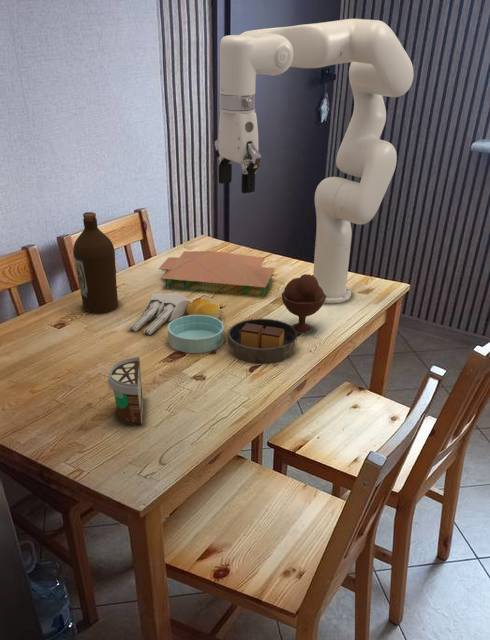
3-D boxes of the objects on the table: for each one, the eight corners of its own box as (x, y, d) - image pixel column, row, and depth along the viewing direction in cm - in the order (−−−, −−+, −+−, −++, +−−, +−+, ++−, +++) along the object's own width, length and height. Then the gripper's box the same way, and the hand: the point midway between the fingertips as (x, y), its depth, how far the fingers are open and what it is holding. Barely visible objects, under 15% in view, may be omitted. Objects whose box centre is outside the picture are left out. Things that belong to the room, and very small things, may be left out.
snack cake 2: (266, 344, 164) (266, 326, 161) (283, 346, 163) (284, 328, 160) (261, 351, 161) (261, 332, 158) (278, 354, 160) (279, 335, 157)
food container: (114, 398, 144) (109, 356, 138) (143, 397, 144) (139, 355, 138) (110, 430, 134) (104, 387, 128) (141, 428, 134) (137, 385, 129)
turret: (124, 336, 173) (121, 321, 169) (165, 298, 185) (162, 283, 182) (157, 345, 169) (154, 329, 166) (196, 305, 181) (194, 289, 178)
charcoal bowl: (241, 330, 171) (241, 314, 169) (304, 339, 167) (305, 324, 164) (218, 358, 159) (217, 342, 156) (285, 370, 154) (286, 354, 152)
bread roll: (203, 325, 173) (203, 311, 171) (182, 314, 179) (182, 300, 176) (228, 317, 178) (227, 303, 175) (207, 306, 183) (206, 292, 181)
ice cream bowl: (328, 325, 174) (333, 269, 165) (313, 342, 165) (318, 284, 157) (290, 317, 177) (292, 262, 168) (274, 334, 169) (276, 277, 160)
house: (176, 260, 212) (174, 235, 207) (279, 269, 206) (280, 243, 201) (153, 288, 193) (151, 260, 189) (265, 298, 188) (266, 270, 183)
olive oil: (115, 296, 189) (104, 205, 174) (124, 310, 181) (115, 217, 166) (77, 302, 185) (63, 210, 171) (85, 317, 177) (72, 222, 163)
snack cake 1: (246, 340, 165) (246, 322, 162) (263, 343, 164) (263, 325, 161) (240, 347, 162) (240, 329, 159) (258, 350, 161) (258, 332, 158)
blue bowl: (182, 326, 173) (181, 311, 170) (232, 334, 169) (232, 319, 167) (159, 349, 162) (158, 334, 160) (212, 359, 158) (211, 343, 156)
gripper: (275, 108, 138) (271, 194, 148) (231, 97, 150) (230, 177, 159) (244, 110, 134) (243, 198, 144) (201, 99, 146) (203, 181, 156)
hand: (236, 187), depth 152 cm, fingers open, 9 cm apart
